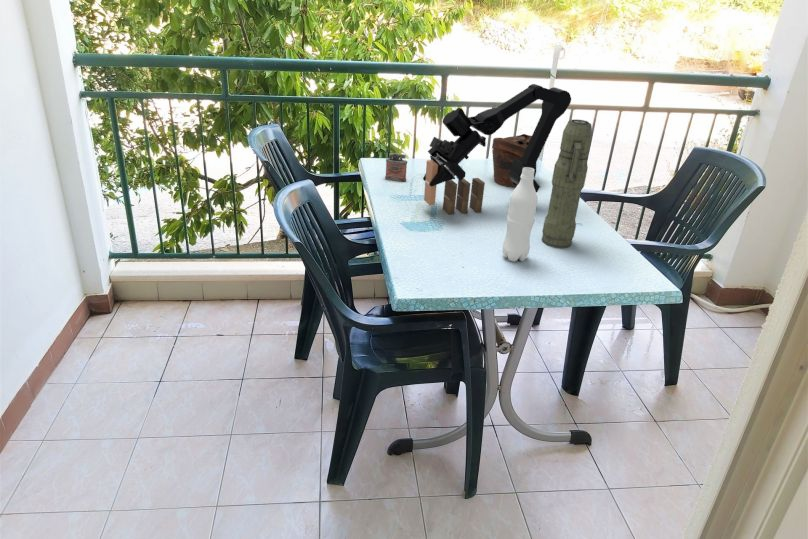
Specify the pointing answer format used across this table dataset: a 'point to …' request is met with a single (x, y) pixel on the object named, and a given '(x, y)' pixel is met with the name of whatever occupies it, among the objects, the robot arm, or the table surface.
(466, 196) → the tile
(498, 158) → the case
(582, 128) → the thermos
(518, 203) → the water bottle
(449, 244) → the table surface
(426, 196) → the end tile
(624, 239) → the table surface
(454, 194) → the tile
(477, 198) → the tile
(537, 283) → the table surface
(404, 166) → the lighter
